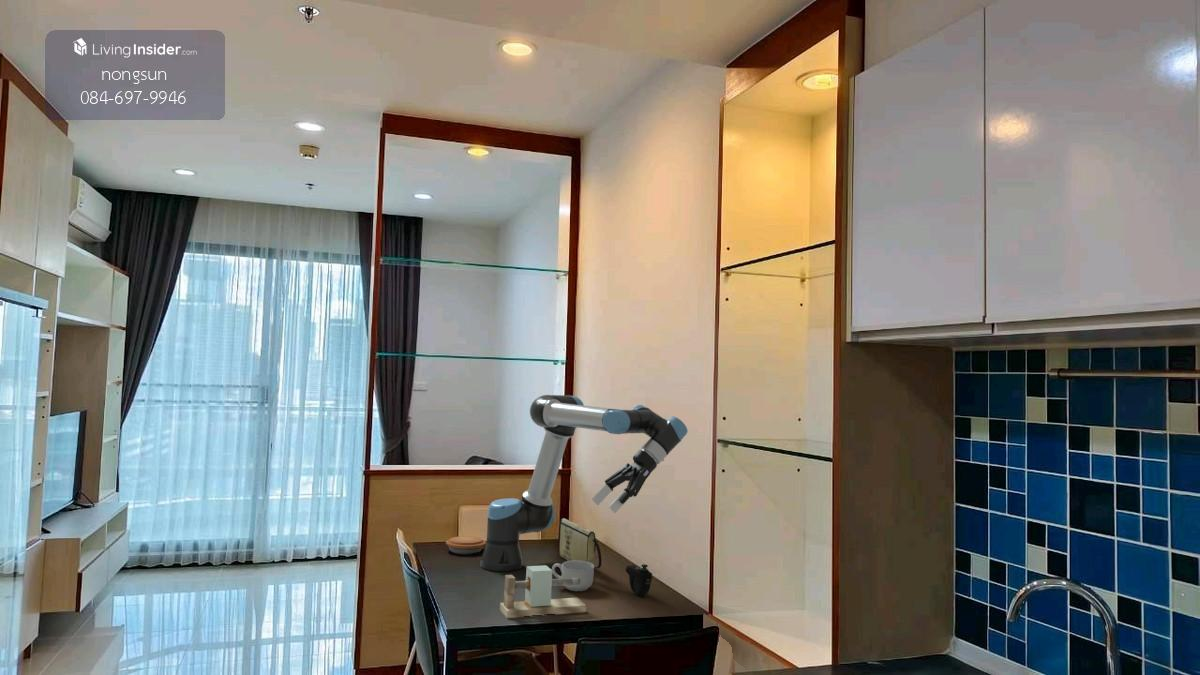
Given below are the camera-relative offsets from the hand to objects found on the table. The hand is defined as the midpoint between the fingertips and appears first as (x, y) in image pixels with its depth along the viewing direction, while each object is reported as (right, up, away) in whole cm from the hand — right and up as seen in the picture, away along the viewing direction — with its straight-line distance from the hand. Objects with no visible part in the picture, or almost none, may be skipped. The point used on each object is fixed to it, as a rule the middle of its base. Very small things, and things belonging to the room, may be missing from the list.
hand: (603, 506), depth 231 cm
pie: (-53, -31, +60) cm, 86 cm away
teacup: (-10, -30, +15) cm, 35 cm away
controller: (+11, -31, +11) cm, 35 cm away
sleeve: (-19, -26, -12) cm, 34 cm away
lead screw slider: (-18, -28, -11) cm, 35 cm away
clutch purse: (-8, -33, +47) cm, 58 cm away
